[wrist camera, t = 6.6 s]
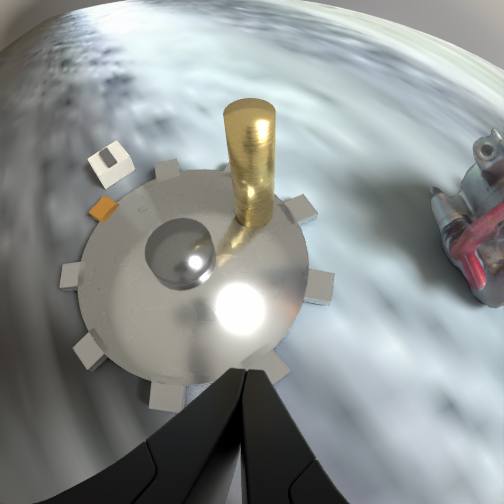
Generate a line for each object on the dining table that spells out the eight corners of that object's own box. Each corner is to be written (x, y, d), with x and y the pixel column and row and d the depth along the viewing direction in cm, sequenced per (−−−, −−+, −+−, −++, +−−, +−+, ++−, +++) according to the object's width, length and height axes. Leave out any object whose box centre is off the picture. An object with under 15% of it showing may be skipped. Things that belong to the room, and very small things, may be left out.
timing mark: (135, 169, 25) (128, 153, 23) (105, 189, 24) (96, 174, 22) (122, 153, 26) (115, 137, 24) (94, 171, 25) (86, 156, 23)
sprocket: (382, 257, 20) (436, 163, 12) (184, 475, 14) (115, 518, 6) (196, 134, 26) (179, 45, 18) (31, 271, 20) (-39, 205, 12)
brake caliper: (486, 357, 14) (524, 138, 9) (399, 275, 24) (396, 121, 19) (568, 299, 15) (594, 144, 10) (488, 247, 25) (493, 122, 20)
